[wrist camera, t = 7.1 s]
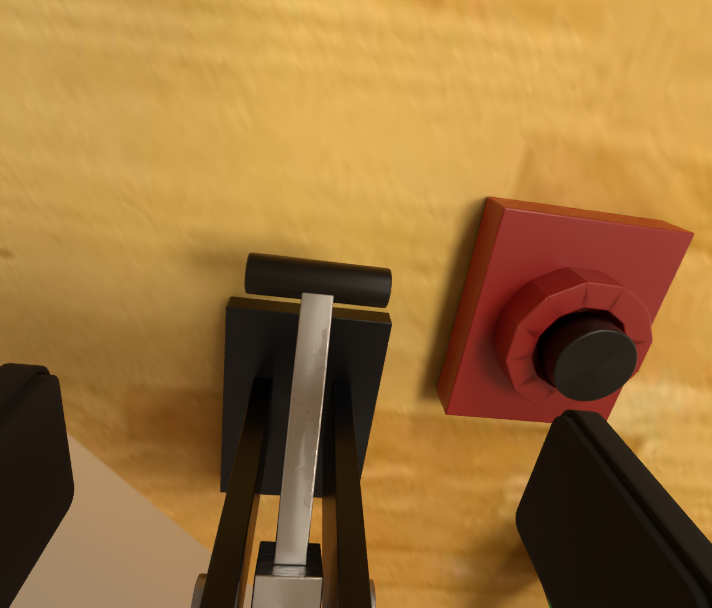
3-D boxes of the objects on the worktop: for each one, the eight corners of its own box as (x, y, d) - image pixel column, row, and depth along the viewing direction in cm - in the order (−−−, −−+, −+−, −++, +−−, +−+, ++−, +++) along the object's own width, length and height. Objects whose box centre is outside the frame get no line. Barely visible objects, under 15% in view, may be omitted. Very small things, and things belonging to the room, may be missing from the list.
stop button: (551, 306, 20) (570, 325, 18) (627, 315, 20) (652, 334, 19) (526, 375, 21) (542, 398, 20) (597, 382, 22) (618, 405, 20)
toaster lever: (252, 257, 17) (246, 246, 15) (383, 272, 18) (396, 264, 15) (212, 618, 16) (197, 668, 14) (350, 621, 17) (358, 669, 15)
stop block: (487, 196, 21) (521, 218, 18) (662, 220, 22) (728, 245, 19) (435, 390, 26) (454, 439, 22) (583, 402, 27) (624, 451, 23)
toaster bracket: (230, 296, 23) (133, 513, 11) (389, 312, 24) (453, 528, 12) (224, 476, 28) (152, 757, 16) (355, 484, 29) (377, 754, 17)
